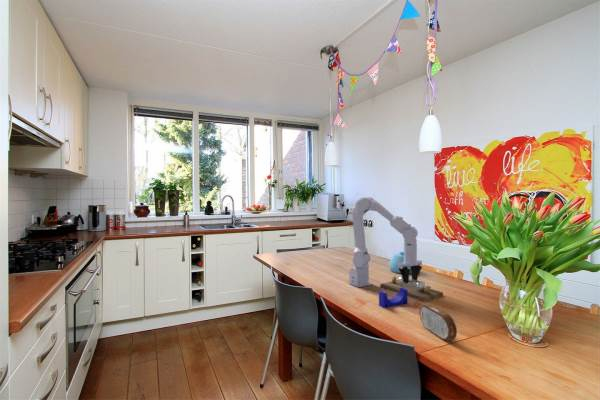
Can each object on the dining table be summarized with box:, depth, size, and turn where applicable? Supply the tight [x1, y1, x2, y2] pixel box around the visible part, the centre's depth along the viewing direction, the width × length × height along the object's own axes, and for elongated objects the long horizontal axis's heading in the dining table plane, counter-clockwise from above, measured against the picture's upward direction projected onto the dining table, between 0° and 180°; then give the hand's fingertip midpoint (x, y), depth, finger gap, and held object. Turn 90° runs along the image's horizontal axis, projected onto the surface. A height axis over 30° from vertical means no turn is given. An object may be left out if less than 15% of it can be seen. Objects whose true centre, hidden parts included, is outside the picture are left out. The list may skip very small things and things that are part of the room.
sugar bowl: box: [388, 251, 412, 275], centre depth 179 cm, size 15×15×12 cm
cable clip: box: [378, 288, 409, 309], centre depth 125 cm, size 12×4×6 cm, turn 111°
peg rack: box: [379, 276, 444, 303], centre depth 141 cm, size 14×24×4 cm, turn 32°
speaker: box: [419, 303, 458, 341], centre depth 98 cm, size 15×3×8 cm, turn 13°
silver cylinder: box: [398, 275, 426, 293], centre depth 141 cm, size 14×4×4 cm, turn 32°
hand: (410, 281), depth 141 cm, fingers open, 6 cm apart
